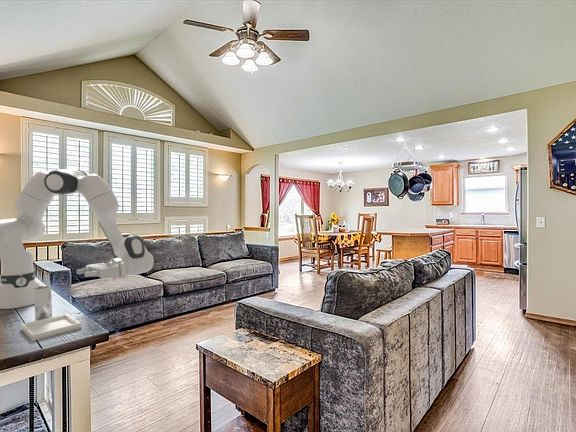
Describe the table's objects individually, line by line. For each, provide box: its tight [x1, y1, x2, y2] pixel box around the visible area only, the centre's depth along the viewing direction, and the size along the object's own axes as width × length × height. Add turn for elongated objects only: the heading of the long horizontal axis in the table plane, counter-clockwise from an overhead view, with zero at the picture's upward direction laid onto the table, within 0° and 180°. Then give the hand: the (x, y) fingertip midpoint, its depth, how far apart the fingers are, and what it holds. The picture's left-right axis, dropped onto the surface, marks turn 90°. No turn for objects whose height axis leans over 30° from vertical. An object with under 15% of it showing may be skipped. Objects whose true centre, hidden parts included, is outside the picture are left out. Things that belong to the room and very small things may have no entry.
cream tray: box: [20, 313, 82, 342], centre depth 116 cm, size 16×14×2 cm
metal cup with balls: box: [34, 284, 53, 321], centre depth 124 cm, size 5×5×14 cm
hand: (81, 273), depth 133 cm, fingers open, 8 cm apart
